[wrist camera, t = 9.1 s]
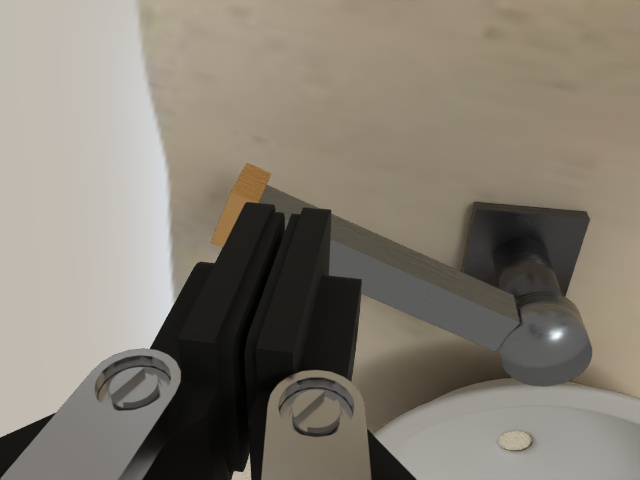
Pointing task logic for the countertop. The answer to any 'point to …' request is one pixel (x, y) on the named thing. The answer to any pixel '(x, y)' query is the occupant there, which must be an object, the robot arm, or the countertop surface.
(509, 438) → the countertop surface
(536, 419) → the round sink basin
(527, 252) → the dark grey faucet base
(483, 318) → the rail
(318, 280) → the robot arm
